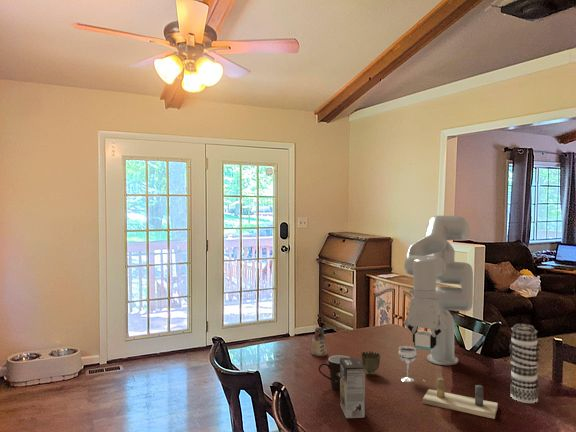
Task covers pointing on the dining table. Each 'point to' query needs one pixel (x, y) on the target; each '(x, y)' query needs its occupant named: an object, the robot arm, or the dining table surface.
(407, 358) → the wineglass
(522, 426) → the dining table surface
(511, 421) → the dining table surface
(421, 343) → the sleeve
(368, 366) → the cup
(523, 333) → the decorative candle
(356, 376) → the coffee box
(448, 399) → the pin board
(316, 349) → the figurine
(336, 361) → the coffee mug
